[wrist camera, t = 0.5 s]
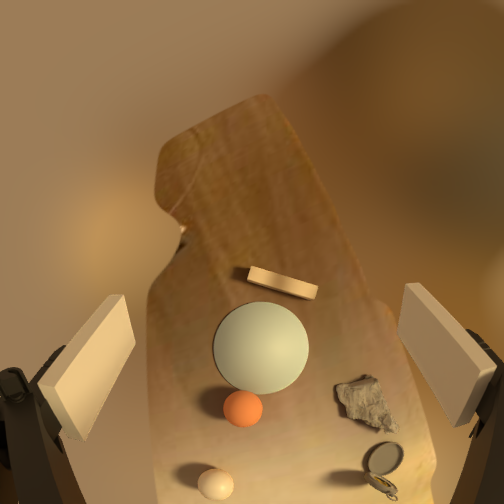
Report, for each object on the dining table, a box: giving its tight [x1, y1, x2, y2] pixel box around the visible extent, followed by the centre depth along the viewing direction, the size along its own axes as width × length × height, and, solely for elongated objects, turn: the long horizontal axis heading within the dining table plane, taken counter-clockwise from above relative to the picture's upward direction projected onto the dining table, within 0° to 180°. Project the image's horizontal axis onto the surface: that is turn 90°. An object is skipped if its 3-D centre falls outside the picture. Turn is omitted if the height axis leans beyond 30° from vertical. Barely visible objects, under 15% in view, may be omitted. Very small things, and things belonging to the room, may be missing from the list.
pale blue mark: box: [214, 302, 309, 394], centre depth 45 cm, size 14×14×1 cm
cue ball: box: [198, 469, 234, 500], centre depth 38 cm, size 6×6×6 cm
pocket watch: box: [364, 442, 404, 501], centre depth 36 cm, size 8×8×10 cm
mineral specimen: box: [336, 375, 399, 435], centre depth 42 cm, size 6×12×4 cm, turn 27°
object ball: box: [223, 390, 262, 427], centre depth 41 cm, size 6×6×6 cm
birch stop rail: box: [247, 266, 318, 300], centre depth 46 cm, size 10×2×2 cm, turn 73°
